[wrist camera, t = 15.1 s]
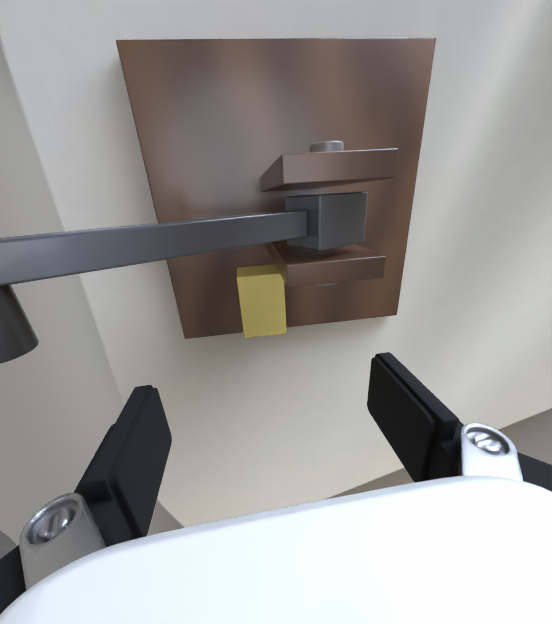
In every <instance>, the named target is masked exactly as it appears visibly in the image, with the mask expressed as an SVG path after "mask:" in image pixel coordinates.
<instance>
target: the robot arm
mask: <svg viewBox="0 0 552 624" xmlns="http://www.w3.org/2000/svg"><path fill="white" fill-rule="evenodd" d="M367 407H368V410H369V412H370V414H371V416H372V417H373V419H374V420H375V422H376V423H377V425H378V426H379V428H380V430H381V431H382V433H383V434H384V436H385V437H386V439H387V440H388V442H389V444H390V445H391V447H392V448H393V450H394V451H395V453H396V455H397V456H398V458H399V459H400V461H401V462H402V464H403V465H404V467H405V469H406V470H407V472H408V473H409V475H410V476H411V478H412V479H413V481H414V482H415V483H411V484H405V485H399V486H394V487H389V488H383V489H378V490H373V491H368V492H363V493H358V494H352V495H347V496H341V497H337V498H331V499H326V500H321V501H316V502H311V503H306V504H301V505H295V506H290V507H285V508H280V509H275V510H270V511H265V512H260V513H255V514H250V515H245V516H240V517H235V518H230V519H225V520H221V521H216V522H211V523H206V524H201V525H196V526H191V527H186V528H182V529H177V530H173V531H169V532H164V533H160V534H155V535H150V536H146V535H147V533H148V530H149V526H150V522H151V518H152V515H153V511H154V507H155V503H156V500H157V496H158V492H159V488H160V485H161V481H162V477H163V473H164V470H165V466H166V462H167V458H168V454H169V451H170V447H171V442H172V437H171V433H170V429H169V426H168V423H167V419H166V416H165V413H164V409H163V406H162V403H161V399H160V396H159V393H158V390H157V388H153V387H152V386H151V385H146V386H139V387H135V388H134V390H133V392H132V394H131V395H130V397H129V399H128V401H127V403H126V405H125V406H124V408H123V410H122V412H121V414H120V416H119V417H118V419H117V421H116V423H115V424H113V425H112V426H111V427H110V428H109V430H108V432H107V434H106V435H105V437H104V439H103V441H102V443H101V444H100V446H99V448H98V450H97V452H96V453H95V455H94V457H93V459H92V460H91V462H90V464H89V466H88V468H87V469H86V471H85V473H84V475H83V477H82V479H81V480H80V482H79V484H78V486H77V487H76V489H75V491H74V493H68V494H65V495H62V496H59V497H57V498H55V499H53V500H51V501H50V502H48V503H47V504H45V505H44V506H43V507H41V508H40V509H39V510H38V511H37V512H36V513H35V514H34V515H33V516H32V517H31V518H30V519H29V521H28V522H27V523H26V525H25V526H24V528H23V530H22V532H21V535H20V539H19V545H18V546H17V547H15V548H14V549H13V550H11V551H10V552H9V553H8V554H6V555H5V556H4V557H2V558H1V559H0V624H552V465H550V464H547V463H545V462H542V461H539V460H537V459H534V458H531V457H529V456H526V455H523V454H521V453H518V452H516V448H515V446H514V444H513V443H512V442H511V441H510V439H509V438H508V437H506V436H505V435H504V434H503V433H501V432H500V431H498V430H496V429H494V428H492V427H489V426H487V425H483V424H479V423H469V424H466V425H463V424H462V423H461V422H460V421H459V419H458V418H457V417H456V416H455V415H454V414H453V413H452V412H451V411H450V410H449V409H448V408H447V407H446V406H445V405H444V404H443V403H442V402H441V401H440V400H439V399H438V398H437V397H436V396H435V395H434V394H433V393H432V392H430V391H429V390H428V389H427V388H426V387H425V386H424V385H423V384H422V383H421V382H420V381H419V380H418V379H417V378H416V377H415V376H414V375H413V374H412V373H411V372H410V371H409V370H408V369H407V368H406V367H405V366H404V365H403V364H401V363H400V362H399V361H398V360H397V359H396V358H395V357H394V356H393V355H392V354H391V353H389V352H387V353H380V354H376V355H375V357H374V358H372V361H371V371H370V381H369V391H368V401H367Z"/></svg>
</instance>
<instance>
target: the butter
mask: <svg viewBox="0 0 552 624" xmlns="http://www.w3.org/2000/svg"><path fill="white" fill-rule="evenodd" d="M237 284H238V292H239V300H240V308H241V316H242V324H243V332H244V338H251V337H260V336H268V335H277V334H286V333H287V331H286V311H285V291H284V280H283V278H282V276H281V274H280V273H279V271H278V269H277V267H276V265H275V264H271V265H260V266H249V267H238V268H237Z"/></svg>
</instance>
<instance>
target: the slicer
mask: <svg viewBox="0 0 552 624" xmlns="http://www.w3.org/2000/svg"><path fill="white" fill-rule="evenodd" d="M435 42H436V37H424V38H301V39H178V40H116V43H117V48H118V52H119V56H120V61H121V65H122V69H123V73H124V78H125V82H126V86H127V91H128V95H129V99H130V104H131V108H132V112H133V117H134V121H135V125H136V130H137V134H138V138H139V143H140V147H141V151H142V156H143V160H144V164H145V169H146V173H147V177H148V181H149V186H150V190H151V194H152V199H153V203H154V207H155V212H156V216H157V220H158V223H161V222H171V221H181V220H192V219H202V218H213V217H223V216H233V215H244V214H254V213H264V212H275V211H285V210H286V197H287V196H301V195H316V194H331V193H347V192H363V191H366V192H368V197H367V210H366V223H365V236H364V242H363V243H358V244H353V245H348V246H343V247H338V248H333V249H328V250H323V251H315V250H310V249H305V248H300V247H295V246H290V245H288V244H287V240H284V241H278V242H272V243H265V244H259V245H253V246H247V247H241V248H234V249H228V250H222V251H216V252H210V253H203V254H197V255H191V256H185V257H179V258H172V259H167V264H168V268H169V272H170V277H171V281H172V285H173V289H174V294H175V298H176V302H177V307H178V311H179V315H180V320H181V324H182V328H183V333H184V337H185V339H188V338H196V337H205V336H214V335H223V334H232V333H241V332H243V324H242V316H241V308H240V300H239V292H238V284H237V268H238V267H249V266H260V265H271V264H275V265H276V267H277V269H278V271H279V273H280V274H281V276H282V278H283V280H284V291H285V311H286V327H294V326H303V325H312V324H321V323H330V322H339V321H348V320H356V319H365V318H374V317H383V316H392V315H397V309H398V302H399V295H400V288H401V281H402V274H403V267H404V260H405V253H406V246H407V239H408V232H409V225H410V218H411V211H412V204H413V197H414V190H415V183H416V176H417V168H418V161H419V154H420V147H421V140H422V133H423V126H424V119H425V112H426V105H427V98H428V91H429V84H430V77H431V70H432V63H433V56H434V49H435Z"/></svg>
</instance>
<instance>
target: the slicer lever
mask: <svg viewBox="0 0 552 624" xmlns="http://www.w3.org/2000/svg"><path fill="white" fill-rule="evenodd" d="M367 197H368V192H366V191H363V192H347V193H331V194H316V195H301V196H287V197H286V210H285V211H275V212H264V213H254V214H244V215H233V216H223V217H213V218H202V219H192V220H181V221H171V222H161V223H150V224H140V225H130V226H119V227H109V228H99V229H88V230H78V231H67V232H57V233H47V234H38V235H37V234H36V235H26V236H17V237H6V238H0V363H4V362H7V361H10V360H13V359H15V358H18V357H20V356H22V355H24V354H26V353H28V352H30V351H32V350H33V349H34V348H35V347H37V345H38V342H39V341H38V339H37V337H36V335H35V333H34V331H33V329H32V327H31V325H30V323H29V321H28V319H27V317H26V314H25V312H24V311H23V308H22V306H21V305H20V302H19V300H18V298H17V297H16V294H15V292H14V290H13V288H12V286H11V285H12V284H17V283H24V282H29V281H36V280H42V279H49V278H55V277H61V276H67V275H73V274H80V273H86V272H92V271H98V270H104V269H111V268H117V267H123V266H129V265H135V264H142V263H148V262H154V261H160V260H166V259H172V258H179V257H185V256H191V255H197V254H203V253H210V252H216V251H222V250H228V249H234V248H241V247H247V246H253V245H259V244H265V243H272V242H278V241H284V240H287V244H288V245H290V246H295V247H300V248H305V249H310V250H315V251H323V250H328V249H333V248H338V247H343V246H348V245H353V244H358V243H363V242H364V236H365V223H366V210H367Z"/></svg>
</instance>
